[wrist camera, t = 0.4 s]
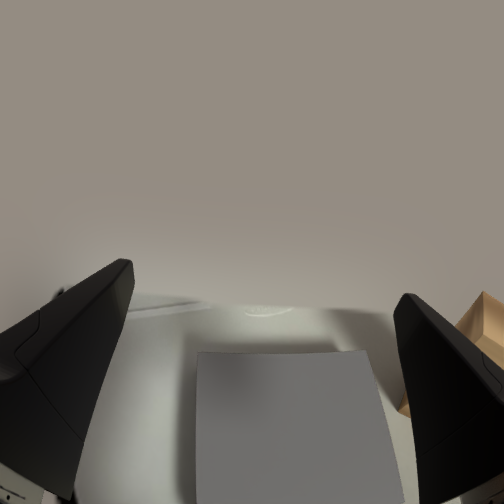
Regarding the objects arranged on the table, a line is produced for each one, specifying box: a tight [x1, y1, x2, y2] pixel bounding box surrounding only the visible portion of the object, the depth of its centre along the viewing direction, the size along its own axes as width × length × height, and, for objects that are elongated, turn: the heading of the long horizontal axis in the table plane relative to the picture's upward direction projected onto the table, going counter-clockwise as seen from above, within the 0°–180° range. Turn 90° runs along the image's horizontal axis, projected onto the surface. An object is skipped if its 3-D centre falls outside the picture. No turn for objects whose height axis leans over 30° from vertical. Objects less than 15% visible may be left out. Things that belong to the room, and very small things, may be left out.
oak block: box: [398, 291, 504, 418], centre depth 19 cm, size 5×5×12 cm
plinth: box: [196, 350, 405, 504], centre depth 18 cm, size 14×14×3 cm
